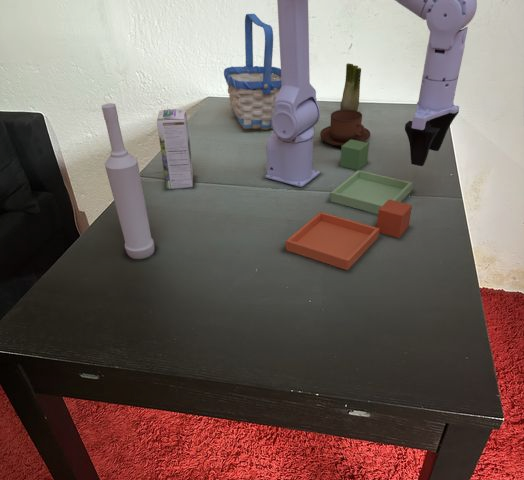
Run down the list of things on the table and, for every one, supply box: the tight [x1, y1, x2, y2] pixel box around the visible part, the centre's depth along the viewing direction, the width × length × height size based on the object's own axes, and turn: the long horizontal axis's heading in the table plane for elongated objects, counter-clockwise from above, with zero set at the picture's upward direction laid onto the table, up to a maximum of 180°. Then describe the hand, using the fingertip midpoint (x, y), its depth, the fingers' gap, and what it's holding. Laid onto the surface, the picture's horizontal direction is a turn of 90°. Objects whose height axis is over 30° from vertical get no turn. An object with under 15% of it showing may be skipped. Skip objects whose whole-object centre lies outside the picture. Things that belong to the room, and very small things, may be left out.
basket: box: [223, 13, 282, 131], centre depth 132 cm, size 21×16×24 cm
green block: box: [339, 139, 370, 171], centre depth 117 cm, size 4×4×4 cm
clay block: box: [375, 199, 413, 239], centre depth 95 cm, size 4×4×4 cm
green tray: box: [329, 169, 413, 215], centre depth 106 cm, size 12×12×2 cm
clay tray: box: [285, 211, 380, 271], centre depth 93 cm, size 12×12×2 cm
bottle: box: [101, 102, 156, 260], centre depth 86 cm, size 5×5×25 cm
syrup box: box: [156, 108, 194, 190], centre depth 109 cm, size 6×6×14 cm
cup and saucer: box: [319, 109, 371, 147], centre depth 126 cm, size 12×12×6 cm
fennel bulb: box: [340, 62, 362, 111], centre depth 138 cm, size 6×5×12 cm
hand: (425, 156), depth 96 cm, fingers open, 7 cm apart
